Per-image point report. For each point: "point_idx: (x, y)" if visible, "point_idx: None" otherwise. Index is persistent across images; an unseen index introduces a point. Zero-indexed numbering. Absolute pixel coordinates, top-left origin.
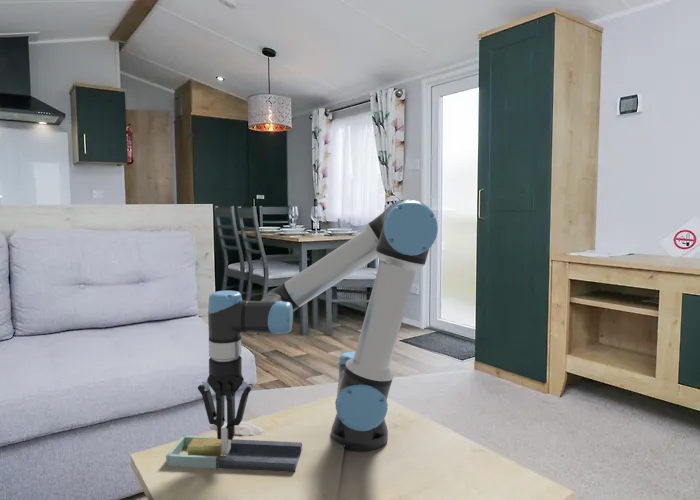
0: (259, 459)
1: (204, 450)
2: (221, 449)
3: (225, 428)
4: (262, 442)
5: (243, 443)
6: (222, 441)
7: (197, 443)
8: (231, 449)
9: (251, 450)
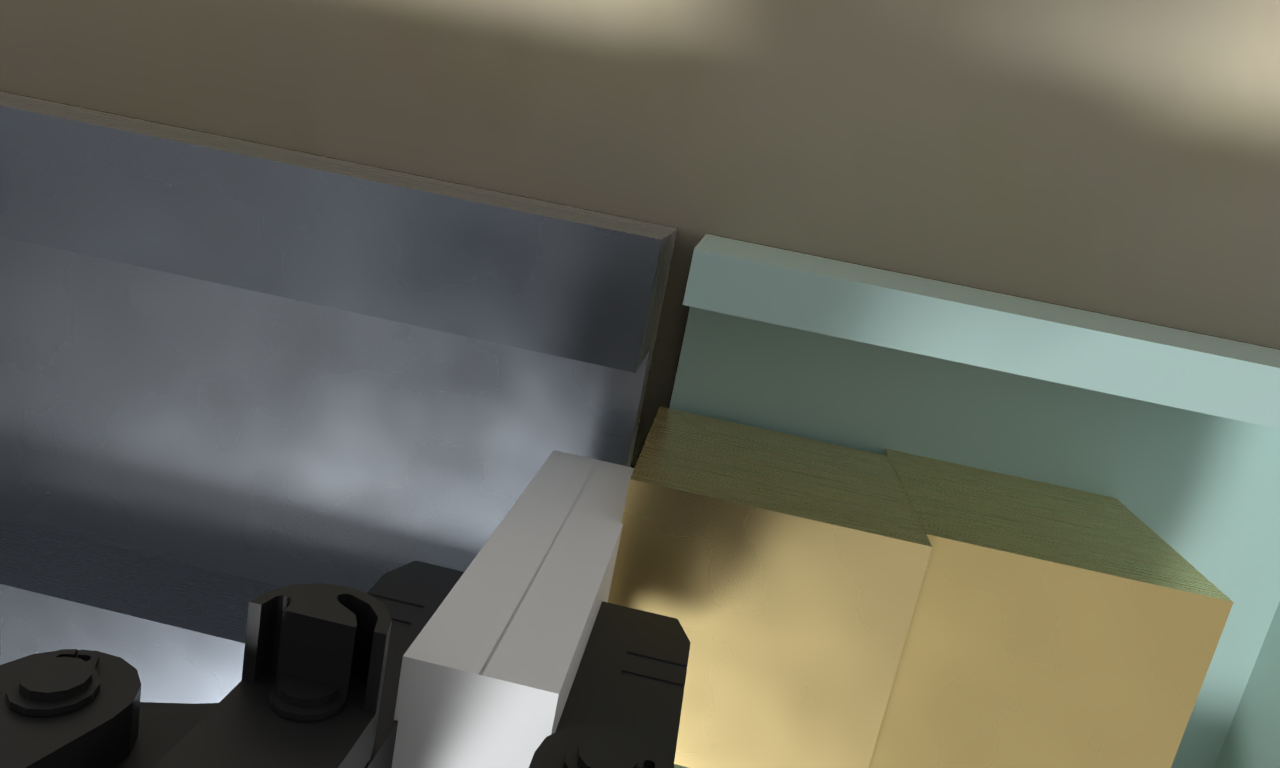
0: (45, 189)
1: (908, 512)
2: None
3: (448, 663)
4: None
5: None
6: (590, 542)
7: (1055, 666)
8: None
9: None
